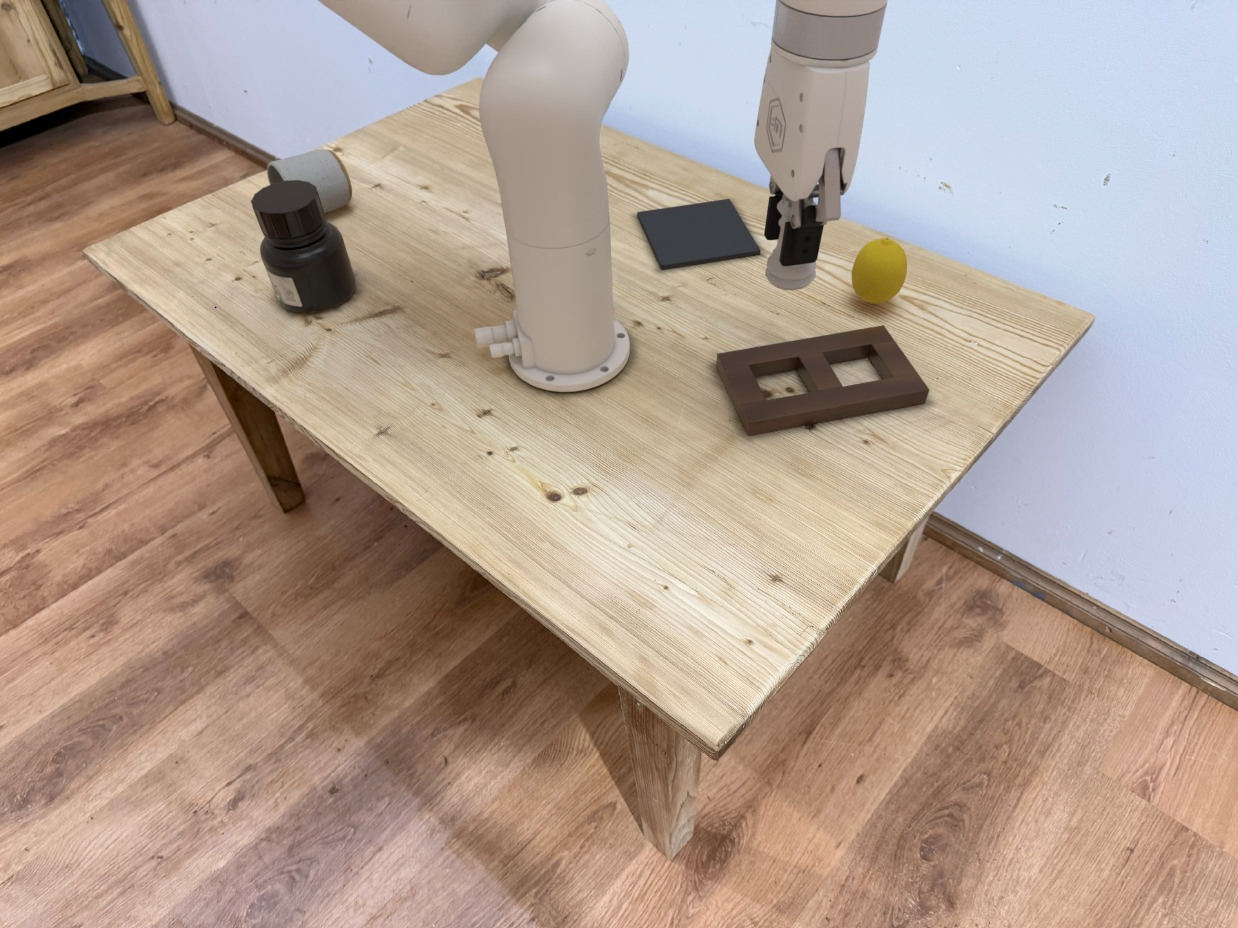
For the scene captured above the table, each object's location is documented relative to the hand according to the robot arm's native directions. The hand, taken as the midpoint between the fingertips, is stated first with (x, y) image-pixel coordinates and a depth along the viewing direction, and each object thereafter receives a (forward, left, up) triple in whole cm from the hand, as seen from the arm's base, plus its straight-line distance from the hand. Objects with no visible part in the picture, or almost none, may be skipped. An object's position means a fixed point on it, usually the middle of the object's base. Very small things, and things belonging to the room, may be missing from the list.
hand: (789, 248), depth 73 cm
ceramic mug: (-46, +46, -16) cm, 67 cm away
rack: (+4, -2, -15) cm, 16 cm away
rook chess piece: (0, 0, -3) cm, 3 cm away
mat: (0, +27, -15) cm, 32 cm away
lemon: (+15, +9, -16) cm, 24 cm away
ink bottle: (-45, +27, -16) cm, 55 cm away
